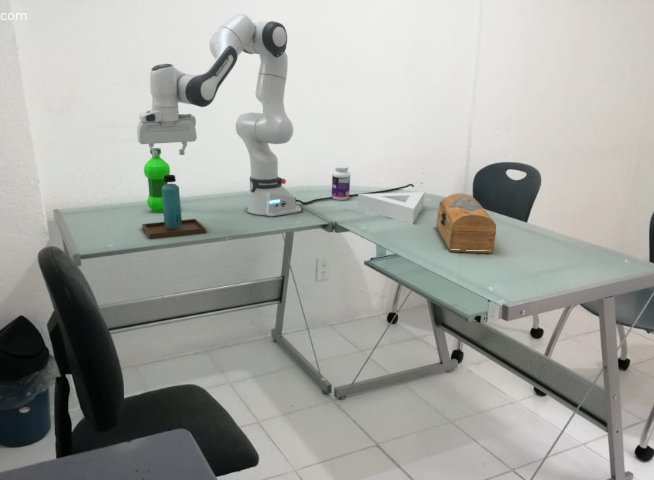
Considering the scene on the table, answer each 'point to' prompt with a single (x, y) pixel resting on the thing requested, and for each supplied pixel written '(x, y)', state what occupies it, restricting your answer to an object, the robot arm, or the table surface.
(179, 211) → the beverage bottle
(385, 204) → the triangle block
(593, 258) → the table surface
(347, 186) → the pill bottle
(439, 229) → the wooden box
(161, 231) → the tray
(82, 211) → the table surface
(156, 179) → the plastic bottle
